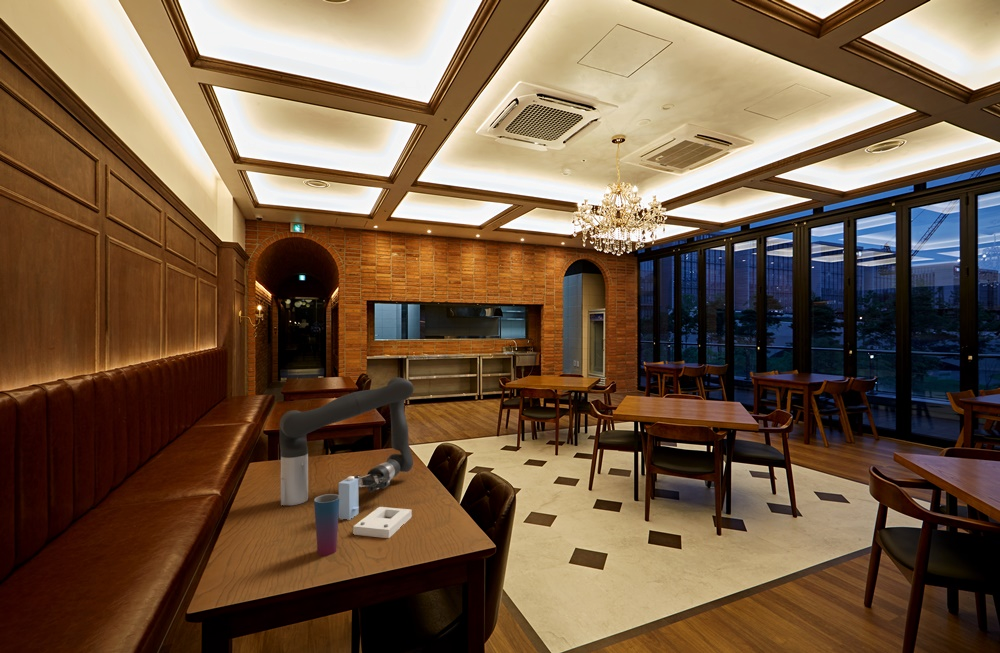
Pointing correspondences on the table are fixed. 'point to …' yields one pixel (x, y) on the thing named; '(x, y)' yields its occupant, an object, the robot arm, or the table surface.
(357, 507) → the block
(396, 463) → the robot arm
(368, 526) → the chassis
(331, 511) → the cup
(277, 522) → the table surface
